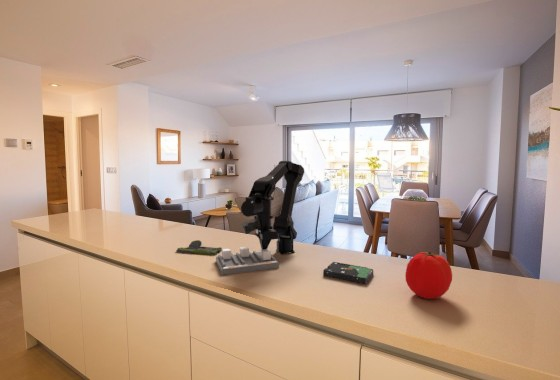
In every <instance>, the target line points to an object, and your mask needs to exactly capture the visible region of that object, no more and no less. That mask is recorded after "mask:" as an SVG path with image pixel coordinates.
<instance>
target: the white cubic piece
mask: <svg viewBox="0 0 560 380" xmlns="http://www.w3.org/2000/svg"><path fill="white" fill-rule="evenodd" d="M260 252H261V258H262V259H263V260H270V259H271V255H272V253H271V252H272V251H271V249H269V248H267V249H264V250H262V249H260Z"/></svg>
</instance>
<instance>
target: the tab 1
mask: <svg viewBox="0 0 560 380" xmlns="http://www.w3.org/2000/svg"><path fill="white" fill-rule="evenodd" d="M231 253H232V250H231V249H230V248H222V251H221V256H222V258H223V260H224V259H231Z"/></svg>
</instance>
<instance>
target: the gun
mask: <svg viewBox="0 0 560 380" xmlns="http://www.w3.org/2000/svg"><path fill="white" fill-rule="evenodd" d="M222 249H223V247H221V246H220V247H211V246H209V247H208V246H202V241H201V240H197V239H196V240H192V241H191V242H190V244H189V245H188V247H177V249H176V252H177V253H183V254H189V255H203V256H217V255H218V253H222Z"/></svg>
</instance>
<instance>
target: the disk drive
mask: <svg viewBox="0 0 560 380" xmlns="http://www.w3.org/2000/svg"><path fill="white" fill-rule="evenodd" d="M322 274H323V277H326V278H331V279H334V280H335V279H336V280H339V281H345V282H351V283H356V284H358V285H359V284H360V285H365V286H366V285H367V284H369V282H370V280H371V279H372V278H373V276H374V268H370V267H369V268H368V267H366V266H359V265H355V264H354V265H353V264H349V263H343V262H336V261H332V262H331V263H330V264H329V265H328V266H327V267H326V268H324V269H323V273H322Z"/></svg>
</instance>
